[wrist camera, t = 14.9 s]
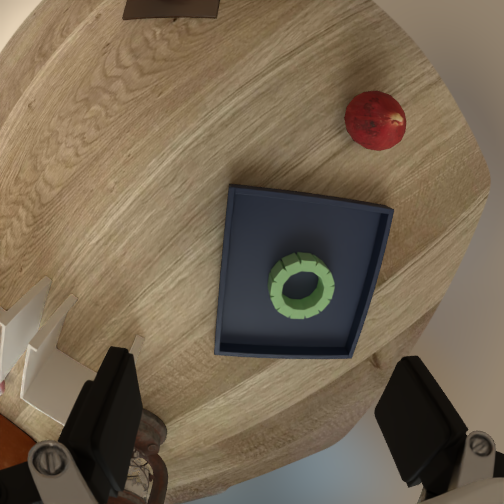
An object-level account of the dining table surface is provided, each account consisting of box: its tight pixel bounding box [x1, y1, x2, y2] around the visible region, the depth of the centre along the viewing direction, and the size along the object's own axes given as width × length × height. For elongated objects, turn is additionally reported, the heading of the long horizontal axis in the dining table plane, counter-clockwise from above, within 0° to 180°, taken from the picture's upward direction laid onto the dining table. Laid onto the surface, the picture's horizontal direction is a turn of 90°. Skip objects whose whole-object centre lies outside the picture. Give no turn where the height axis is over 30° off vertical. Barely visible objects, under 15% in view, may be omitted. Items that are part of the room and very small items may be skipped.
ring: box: [268, 252, 335, 319], centre depth 33 cm, size 7×7×2 cm
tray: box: [214, 184, 394, 359], centre depth 33 cm, size 17×19×2 cm
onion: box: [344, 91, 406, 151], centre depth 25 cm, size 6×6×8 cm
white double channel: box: [0, 276, 145, 426], centre depth 29 cm, size 25×11×11 cm, turn 55°
